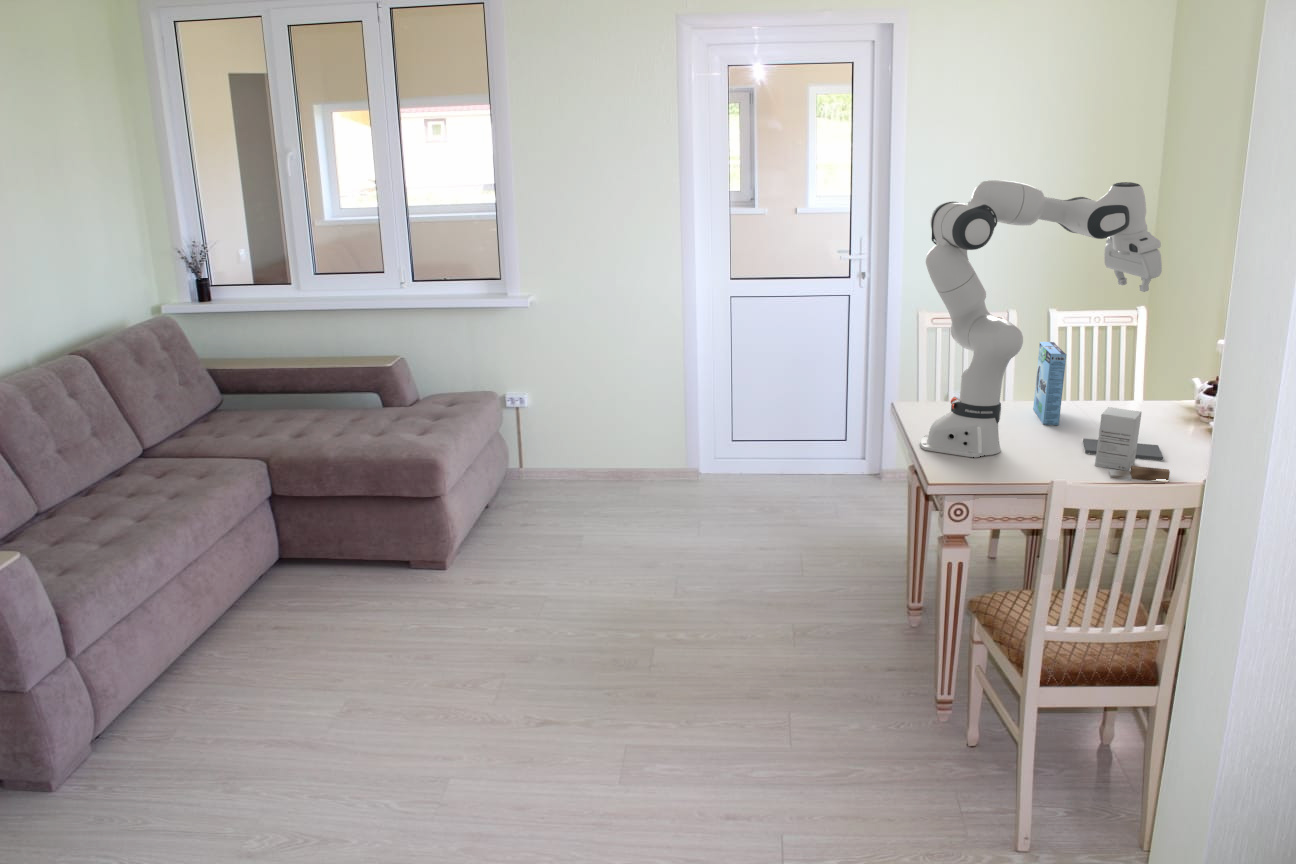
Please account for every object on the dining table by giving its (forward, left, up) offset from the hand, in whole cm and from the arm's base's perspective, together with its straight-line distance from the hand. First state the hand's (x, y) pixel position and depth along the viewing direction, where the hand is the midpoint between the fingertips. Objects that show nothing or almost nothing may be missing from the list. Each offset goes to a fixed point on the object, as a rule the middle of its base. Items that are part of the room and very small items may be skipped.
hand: (1133, 287), depth 279 cm
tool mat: (+2, -6, -46) cm, 47 cm away
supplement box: (-1, -20, -46) cm, 51 cm away
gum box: (-18, +25, -46) cm, 55 cm away
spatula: (+4, -31, -46) cm, 56 cm away
